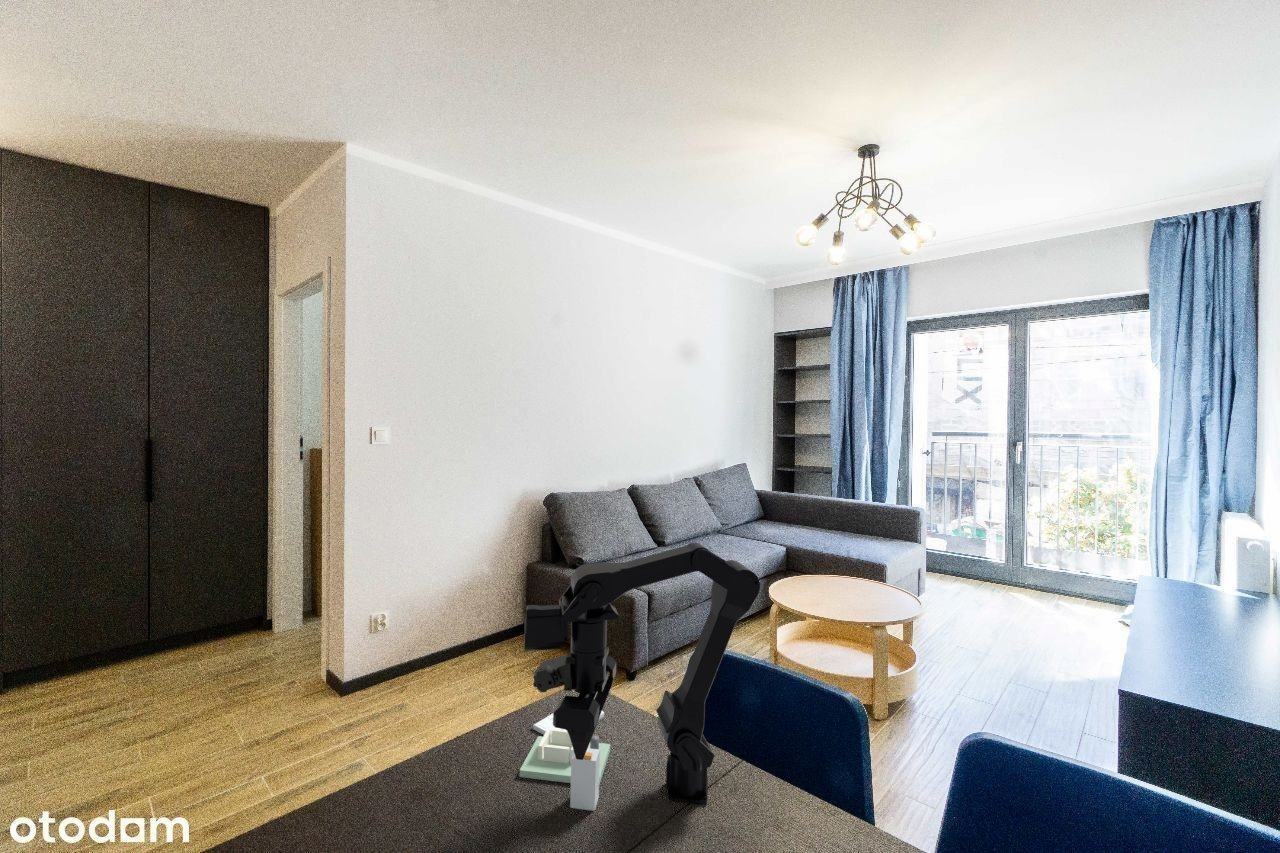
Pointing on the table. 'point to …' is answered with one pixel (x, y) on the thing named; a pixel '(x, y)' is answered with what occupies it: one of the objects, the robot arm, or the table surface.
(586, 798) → the plug
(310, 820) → the table surface
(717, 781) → the table surface
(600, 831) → the table surface
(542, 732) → the external hard drive
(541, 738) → the board
